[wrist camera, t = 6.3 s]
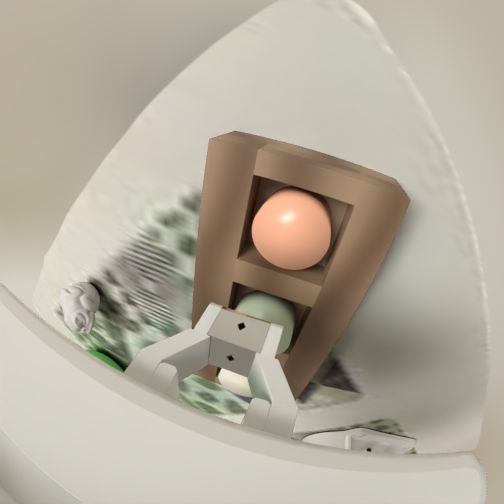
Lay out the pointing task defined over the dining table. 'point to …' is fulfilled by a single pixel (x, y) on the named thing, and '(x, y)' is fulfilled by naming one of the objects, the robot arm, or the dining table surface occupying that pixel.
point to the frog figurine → (80, 306)
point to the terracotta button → (293, 228)
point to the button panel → (285, 280)
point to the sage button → (270, 313)
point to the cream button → (235, 382)
